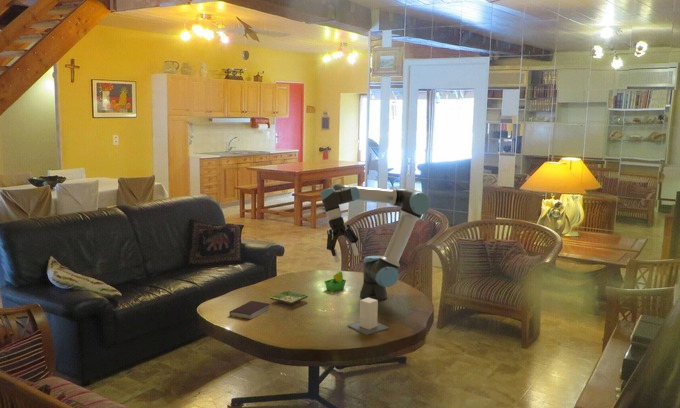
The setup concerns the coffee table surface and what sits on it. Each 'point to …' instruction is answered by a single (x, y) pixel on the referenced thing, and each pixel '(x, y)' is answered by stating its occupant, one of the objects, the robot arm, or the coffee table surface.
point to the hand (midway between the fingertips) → (347, 258)
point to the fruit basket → (335, 282)
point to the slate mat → (368, 331)
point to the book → (250, 310)
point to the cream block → (368, 313)
